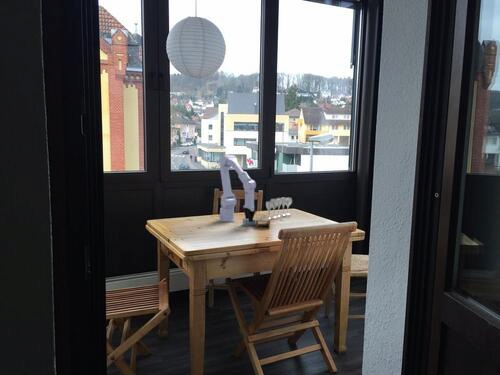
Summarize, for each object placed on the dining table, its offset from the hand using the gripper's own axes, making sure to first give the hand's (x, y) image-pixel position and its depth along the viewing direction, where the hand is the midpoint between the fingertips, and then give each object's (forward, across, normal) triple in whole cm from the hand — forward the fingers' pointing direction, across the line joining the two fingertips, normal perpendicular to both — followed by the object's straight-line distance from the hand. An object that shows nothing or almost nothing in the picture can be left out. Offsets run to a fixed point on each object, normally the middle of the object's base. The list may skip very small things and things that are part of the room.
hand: (249, 220), depth 268 cm
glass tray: (+3, 0, 0) cm, 3 cm away
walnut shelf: (+3, +2, +8) cm, 9 cm away
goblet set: (+4, -25, +30) cm, 39 cm away
